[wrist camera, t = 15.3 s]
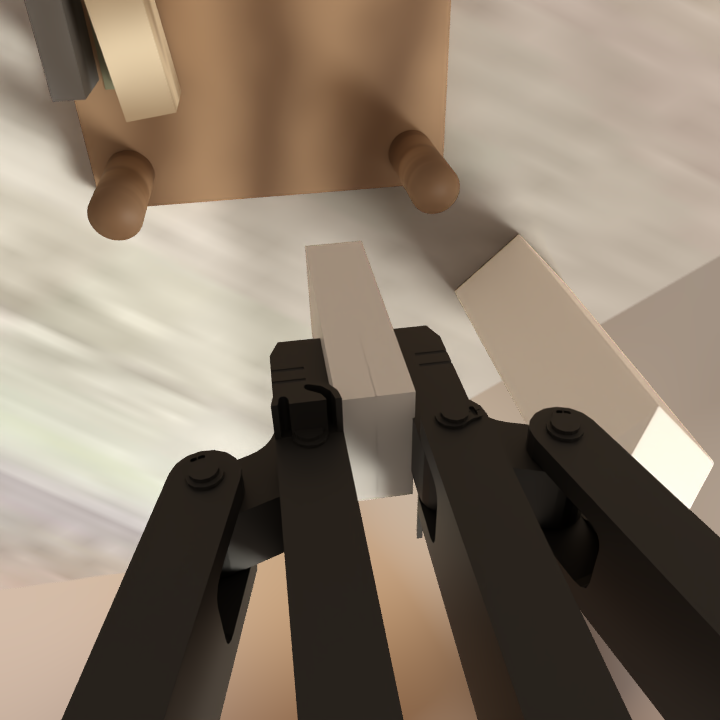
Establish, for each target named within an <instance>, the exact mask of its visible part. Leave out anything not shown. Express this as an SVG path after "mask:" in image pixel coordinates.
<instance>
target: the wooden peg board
mask: <svg viewBox="0 0 720 720" xmlns="http://www.w3.org/2000/svg"><path fill="white" fill-rule="evenodd" d="M24 1H25V4H26V8H27V12H28V15H29V19H30V22H31V26H32V30H33V33H34V37H35V40H36V44H37V48H38V51H39V55H40V58H41V62H42V66H43V69H44V73H45V76H46V80H47V84H48V87H49V91H50V94H51V98H52V102H56V101H72V100H74V102H75V105H76V109H77V113H78V117H79V121H80V125H81V129H82V132H83V136H84V140H85V144H86V148H87V152H88V156H89V159H90V163H91V167H92V171H93V175H94V179H95V183H96V189H95V191H94V194H93V196H92V198H91V200H90V203H89V205H88V209H87V215H88V219H89V222H90V224H91V225H92V227H93V228H94V229H95V230H96V231H97V232H98V233H99V234H100V235H102V236H104V237H106V238H108V239H112V240H126V239H129V238H132V237H133V236H135V235H136V234H137V233H138V232H139V231H140V229H141V227H142V225H143V221H144V217H145V213H146V210H147V206H157V205H169V204H182V203H194V202H207V201H219V200H232V199H244V198H257V197H269V196H282V195H294V194H307V193H320V192H332V191H345V190H357V189H370V188H382V187H395V186H404V188H405V190H406V191H407V193H408V195H409V197H410V199H411V200H412V202H413V204H414V205H415V207H416V208H417V209H419V210H420V211H422V212H424V213H428V214H436V213H440V212H443V211H445V210H446V209H448V208H449V207H450V206H451V205H452V204H453V203H454V202H455V200H456V199H457V197H458V194H459V189H460V184H459V179H458V177H457V175H456V173H455V172H454V171H453V170H452V168H451V167H450V166H449V164H448V163H447V162H446V160H445V159H444V158H443V151H444V131H445V110H446V90H447V70H448V49H449V29H450V9H451V0H155V3H156V7H157V10H158V13H159V17H160V20H161V24H162V27H163V31H164V34H165V37H166V41H167V44H168V48H169V51H170V54H171V58H172V61H173V65H174V68H175V72H176V75H177V78H178V82H179V85H180V89H181V95H180V99H179V103H178V107H177V111H176V113H171V114H166V115H161V116H156V117H151V118H146V119H140V120H135V121H130V122H126V119H125V116H124V114H123V111H122V108H121V105H120V102H119V99H118V96H117V93H116V91H115V88H114V85H113V82H112V79H111V76H110V73H109V70H108V68H107V65H106V62H105V59H104V56H103V53H102V50H101V47H100V45H99V42H98V39H97V36H96V33H95V30H94V27H93V24H92V22H91V19H90V16H89V13H88V10H87V7H86V4H85V1H84V0H24Z"/></svg>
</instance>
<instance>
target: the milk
mask: <svg viewBox="0 0 720 720" xmlns="http://www.w3.org/2000/svg"><path fill="white" fill-rule="evenodd" d="M455 294H456V296H457V297H458V299H459V301H460V303H461V305H462V307H463V309H464V310H465V312H466V314H467V316H468V318H469V320H470V321H471V323H472V325H473V327H474V329H475V331H476V333H477V334H478V336H479V338H480V340H481V342H482V344H483V345H484V347H485V349H486V351H487V353H488V355H489V357H490V358H491V360H492V362H493V364H494V366H495V368H496V369H497V371H498V373H499V375H500V377H501V379H502V381H503V382H504V384H505V386H506V388H507V390H508V392H509V393H510V395H511V397H512V399H513V401H514V402H515V405H516V406H517V408H518V410H519V412H520V414H521V416H522V417H523V419H524V421H525V423H526V424H527V425H529V422H530V419H531V418H532V417H533V415H534V414H535V413H536V412H538V411H540V410H542V409H544V408H551V407H564V408H571V409H574V410H576V411H579V412H582V413H584V414H585V415H587V416H588V417H590V418H591V419H593V420H594V421H595V422H596V423H597V424H598V425H599V426H600V427H601V428H602V429H603V430H605V431H606V432H607V433H608V434H609V435H610V436H611V437H612V438H613V439H614V440H615V441H616V442H617V443H619V444H620V445H621V446H622V447H623V448H624V449H625V450H626V451H627V452H628V453H629V454H630V455H631V456H633V457H634V458H635V459H636V460H637V461H638V462H639V463H640V464H641V465H642V466H643V467H644V468H645V469H647V470H648V471H649V472H650V473H651V474H652V475H653V476H654V477H655V478H656V479H657V480H658V481H659V482H661V483H662V484H663V485H664V486H665V487H666V488H667V489H668V490H669V491H670V492H671V493H672V494H673V495H675V496H676V497H677V498H678V499H679V500H680V501H681V502H682V503H683V504H684V505H685V506H686V507H687V508H689V509H690V508H691V506H692V504H693V502H694V500H695V498H696V496H697V495H698V493H699V491H700V489H701V487H702V485H703V483H704V481H705V480H706V478H707V476H708V474H709V472H710V470H711V468H712V466H713V464H714V463H713V460H712V459H711V458H710V457H709V456H708V455H707V453H706V452H705V451H704V449H702V447H701V446H700V445H699V443H698V442H697V441H696V440H695V439H694V437H693V436H692V435H691V434H690V433H689V431H688V430H687V429H686V428H685V427H684V425H683V424H682V423H681V422H680V420H678V418H677V417H676V416H675V415H674V413H673V412H672V411H671V410H670V408H669V407H668V406H667V405H666V404H665V402H664V401H663V400H662V399H661V398H660V396H659V395H658V394H657V393H656V392H655V390H654V389H653V388H652V387H651V386H650V385H649V383H648V382H647V381H646V380H645V379H644V377H643V376H642V375H641V374H640V372H639V371H638V370H637V369H636V368H635V367H634V365H633V364H632V363H631V362H630V360H629V359H628V358H627V357H626V356H625V354H624V353H623V352H622V351H621V349H620V348H619V347H618V346H617V345H616V343H615V342H614V341H613V340H612V339H611V337H610V336H609V335H608V334H607V333H606V331H605V330H604V329H603V328H602V327H601V325H600V324H599V323H598V322H597V321H596V319H595V318H594V317H593V316H592V315H591V313H590V312H589V311H588V310H587V309H586V307H585V306H584V305H583V304H582V302H581V301H580V300H579V299H578V298H577V296H576V295H575V294H574V293H573V292H572V290H571V289H570V288H569V287H568V286H567V284H566V283H565V282H564V281H563V280H562V279H561V278H560V277H559V276H558V275H557V274H556V273H555V272H554V270H553V269H552V268H551V267H550V266H549V265H548V264H547V263H546V262H545V261H544V260H543V259H542V258H541V257H540V256H539V254H538V253H537V252H536V251H535V250H534V249H533V248H532V247H531V246H530V245H529V244H528V243H527V242H526V241H525V239H524V238H523V237H522V236H521V235H517V236H516V237H515V238H514V239H513V240H512V241H511V242H510V243H508V244H507V245H506V246H505V247H504V248H503V249H502V250H501V251H499V252H498V253H497V254H496V255H495V256H494V257H493V258H492V259H490V260H489V261H488V262H487V263H486V264H485V265H484V266H483V267H481V268H480V269H479V270H478V271H477V272H476V273H475V274H474V275H472V276H471V277H470V278H469V279H468V280H467V281H466V282H465V283H463V284H462V285H461V286H460V287H459V288H458V289H457V290H456V291H455Z"/></svg>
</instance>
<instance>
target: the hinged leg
mask: <svg viewBox="0 0 720 720" xmlns="http://www.w3.org/2000/svg"><path fill="white" fill-rule="evenodd" d="M84 1H85V4H86V7H87V10H88V13H89V16H90V19H91V22H92V24H93V27H94V30H95V33H96V36H97V39H98V42H99V45H100V47H101V50H102V53H103V56H104V59H105V62H106V65H107V68H108V70H109V73H110V76H111V79H112V82H113V85H114V88H115V91H116V93H117V96H118V99H119V102H120V105H121V108H122V111H123V114H124V116H125V119H126V122H130V121H135V120H140V119H146V118H151V117H156V116H161V115H166V114H171V113H176V111H177V107H178V103H179V99H180V95H181V89H180V85H179V82H178V78H177V75H176V72H175V68H174V65H173V61H172V58H171V54H170V51H169V48H168V44H167V41H166V37H165V34H164V31H163V27H162V24H161V20H160V17H159V13H158V10H157V7H156V3H155V0H84Z"/></svg>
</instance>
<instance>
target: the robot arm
mask: <svg viewBox="0 0 720 720" xmlns="http://www.w3.org/2000/svg"><path fill="white" fill-rule="evenodd" d="M305 251H306V263H307V276H308V289H309V302H310V315H311V328H312V336H313V339H307V340H297V341H288V342H278V343H277V345H276V346H275V348H274V350H273V351H272V353H271V355H270V365H271V378H272V391H273V399H272V403H271V411H272V419H273V426H274V434H273V436H272V438H271V440H270V441H269V442H268V443H267V444H266V446H264V447H263V448H261V449H260V450H259V451H257V452H255V453H253V454H251V455H249V456H246V457H244V458H241V459H238V460H237V459H236V458H235V457H233V456H231V455H230V454H228V453H227V452H221V451H216V450H210V451H200V452H197V453H195V454H192V455H189V456H187V457H185V458H184V459H182V460H181V461H180V462H178V463H177V464H176V465H175V466H174V467H173V469H172V470H171V472H170V473H169V475H168V477H167V480H166V482H165V484H164V486H163V489H162V491H161V493H160V496H159V498H158V500H157V502H156V505H155V507H154V509H153V512H152V514H151V516H150V518H149V521H148V523H147V525H146V528H145V530H144V532H143V534H142V537H141V539H140V541H139V544H138V546H137V548H136V550H135V553H134V555H133V557H132V560H131V562H130V564H129V566H128V569H127V571H126V573H125V576H124V578H123V580H122V582H121V585H120V587H119V590H118V592H117V594H116V596H115V598H114V601H113V603H112V605H111V608H110V610H109V612H108V614H107V617H106V619H105V621H104V624H103V626H102V628H101V630H100V633H99V635H98V637H97V640H96V642H95V644H94V646H93V649H92V651H91V654H90V656H89V658H88V660H87V663H86V665H85V667H84V669H83V672H82V674H81V676H80V678H79V681H78V683H77V685H76V688H75V690H74V692H73V694H72V697H71V699H70V701H69V704H68V706H67V708H66V710H65V713H64V715H63V718H62V720H220V716H221V712H222V708H223V704H224V700H225V696H226V692H227V688H228V684H229V680H230V676H231V672H232V668H233V664H234V660H235V656H236V652H237V648H238V644H239V640H240V636H241V632H242V628H243V624H244V620H245V616H246V612H247V608H248V604H249V600H250V596H251V592H252V588H253V584H254V580H255V576H256V572H257V564H258V563H261V562H263V561H265V560H268V559H270V558H272V557H274V556H277V555H279V554H281V553H283V552H284V554H285V566H286V579H287V591H288V604H289V616H290V628H291V641H292V652H293V665H294V677H295V690H296V701H297V714H298V720H403V715H402V711H401V706H400V701H399V696H398V691H397V686H396V682H395V677H394V672H393V667H392V663H391V658H390V653H389V648H388V643H387V639H386V633H385V628H384V624H383V619H382V614H381V609H380V604H379V600H378V595H377V590H376V585H375V580H374V576H373V571H372V566H371V561H370V556H369V552H368V547H367V542H366V537H365V532H364V527H363V522H362V517H361V513H360V508H359V503H358V501H362V500H369V499H377V498H384V497H392V496H400V495H407V494H412V493H413V479H414V482H415V485H416V488H417V492H418V509H417V538H422V531H423V533H424V536H425V540H426V543H427V546H428V550H429V553H430V556H431V560H432V564H433V567H434V570H435V574H436V577H437V581H438V584H439V588H440V591H441V595H442V598H443V601H444V605H445V609H446V612H447V615H448V619H449V622H450V626H451V629H452V632H453V636H454V640H455V643H456V646H457V650H458V653H459V657H460V660H461V664H462V667H463V671H464V674H465V677H466V681H467V684H468V688H469V691H470V695H471V698H472V701H473V705H474V708H475V712H476V715H477V719H478V720H632V719H631V717H630V715H629V713H628V711H627V708H626V706H625V704H624V702H623V700H622V698H621V696H620V693H619V691H618V689H617V687H616V685H615V683H614V681H613V679H612V677H611V674H610V672H609V670H608V668H607V666H606V664H605V662H604V660H603V658H602V656H601V653H600V651H599V649H598V647H597V645H596V643H595V641H594V639H593V637H592V634H591V632H590V630H589V628H588V626H587V624H586V622H585V620H584V618H583V615H584V616H585V617H586V618H587V620H588V621H589V622H590V624H591V625H592V626H593V627H594V629H595V630H596V631H597V633H598V634H599V635H600V636H601V638H602V639H603V640H604V642H605V643H606V644H607V645H608V647H609V648H610V649H611V651H612V652H613V653H614V655H615V656H616V657H617V658H618V660H619V661H620V662H621V663H622V665H623V666H624V667H625V669H626V670H627V671H628V672H629V674H630V675H631V676H632V678H633V679H634V680H635V682H636V683H637V684H638V686H639V687H640V688H641V689H642V691H643V692H644V693H645V695H646V696H647V697H648V698H649V700H650V701H651V702H652V704H653V705H654V706H655V707H656V709H657V710H658V711H659V713H660V714H661V715H662V717H663V718H664V719H665V720H720V537H719V536H718V535H717V534H715V533H714V532H713V531H712V530H711V529H710V528H709V527H708V526H707V525H706V524H705V523H704V522H703V521H701V520H700V519H699V518H698V517H697V516H696V515H695V514H694V513H693V512H692V511H691V510H690V509H689V508H687V507H686V506H685V505H684V504H683V503H682V502H681V501H680V500H679V499H678V498H677V497H676V496H675V495H673V494H672V493H671V492H670V491H669V490H668V489H667V488H666V487H665V486H664V485H663V484H662V483H661V482H659V481H658V480H657V479H656V478H655V477H654V476H653V475H652V474H651V473H650V472H649V471H648V470H647V469H645V468H644V467H643V466H642V465H641V464H640V463H639V462H638V461H637V460H636V459H635V458H634V457H633V456H631V455H630V454H629V453H628V452H627V451H626V450H625V449H624V448H623V447H622V446H621V445H620V444H619V443H617V442H616V441H615V440H614V439H613V438H612V437H611V436H610V435H609V434H608V433H607V432H606V431H605V430H603V429H602V428H601V427H600V426H599V425H598V424H597V423H596V422H595V421H594V420H593V419H591V418H590V417H588V416H587V415H585V414H584V413H582V412H579V411H576V410H574V409H571V408H564V407H551V408H544V409H542V410H540V411H538V412H536V413H535V414H534V415H533V417H532V418H531V419H530V422H529V425H527V424H518V423H509V422H503V421H498V420H495V419H492V418H489V417H488V415H487V413H486V412H485V411H484V410H483V409H482V407H481V406H480V405H478V404H476V403H475V402H473V401H471V400H469V399H468V397H467V395H466V392H465V390H464V388H463V386H462V384H461V381H460V379H459V377H458V375H457V373H456V370H455V368H454V366H453V364H452V363H451V360H450V357H449V355H448V353H447V352H446V349H445V346H444V344H443V342H442V340H441V338H440V336H439V335H437V334H436V333H435V332H434V331H432V330H431V329H430V328H429V327H427V326H417V327H407V328H398V329H393V327H392V324H391V322H390V319H389V316H388V313H387V311H386V308H385V305H384V302H383V299H382V297H381V294H380V291H379V288H378V286H377V283H376V280H375V277H374V274H373V272H372V269H371V266H370V263H369V261H368V258H367V255H366V252H365V249H364V247H363V244H362V241H355V242H344V243H333V244H322V245H311V246H305ZM581 612H582V613H583V615H582V613H581Z"/></svg>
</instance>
